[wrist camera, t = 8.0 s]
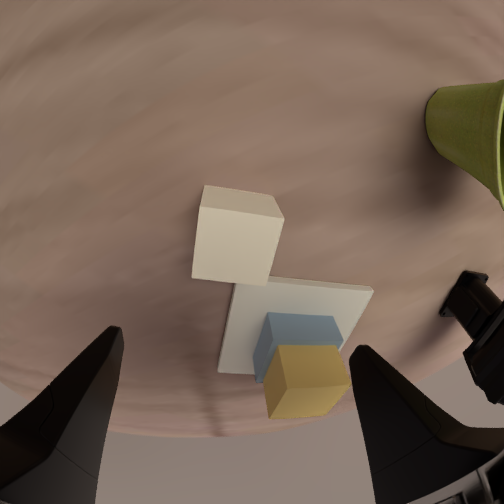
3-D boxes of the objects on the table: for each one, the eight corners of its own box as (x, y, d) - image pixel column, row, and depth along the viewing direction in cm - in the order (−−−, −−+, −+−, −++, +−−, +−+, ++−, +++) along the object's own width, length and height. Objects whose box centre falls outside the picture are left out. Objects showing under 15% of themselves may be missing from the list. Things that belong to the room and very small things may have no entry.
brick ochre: (336, 345, 21) (351, 384, 17) (314, 379, 23) (325, 415, 20) (277, 344, 20) (287, 388, 16) (262, 380, 22) (268, 419, 19)
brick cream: (272, 195, 18) (284, 219, 15) (258, 253, 20) (265, 286, 17) (204, 184, 17) (199, 206, 14) (196, 245, 19) (191, 278, 16)
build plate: (370, 286, 23) (373, 291, 22) (323, 368, 29) (325, 373, 28) (237, 272, 21) (237, 278, 20) (217, 366, 26) (217, 372, 26)
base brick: (332, 315, 23) (343, 340, 20) (310, 358, 26) (317, 381, 23) (267, 311, 22) (273, 339, 19) (252, 357, 25) (255, 382, 22)
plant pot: (407, 179, 18) (486, 229, 10) (401, 58, 13) (494, 55, 6) (477, 174, 18) (544, 213, 11) (477, 77, 13) (553, 92, 6)
